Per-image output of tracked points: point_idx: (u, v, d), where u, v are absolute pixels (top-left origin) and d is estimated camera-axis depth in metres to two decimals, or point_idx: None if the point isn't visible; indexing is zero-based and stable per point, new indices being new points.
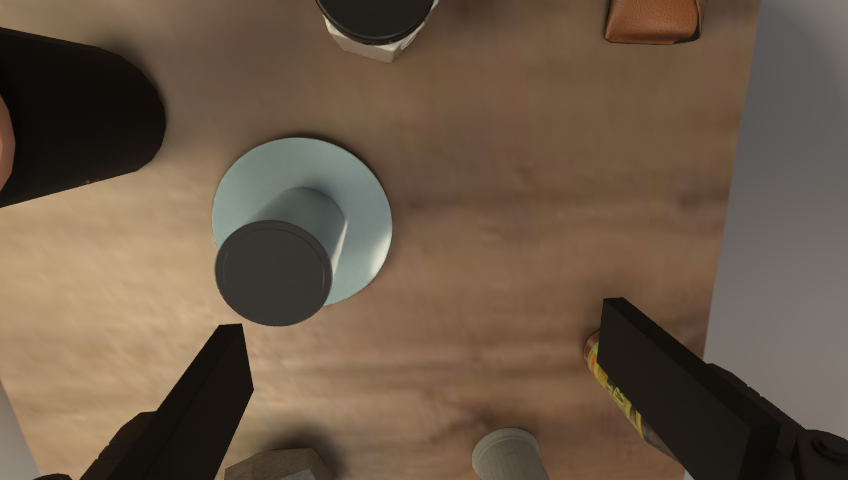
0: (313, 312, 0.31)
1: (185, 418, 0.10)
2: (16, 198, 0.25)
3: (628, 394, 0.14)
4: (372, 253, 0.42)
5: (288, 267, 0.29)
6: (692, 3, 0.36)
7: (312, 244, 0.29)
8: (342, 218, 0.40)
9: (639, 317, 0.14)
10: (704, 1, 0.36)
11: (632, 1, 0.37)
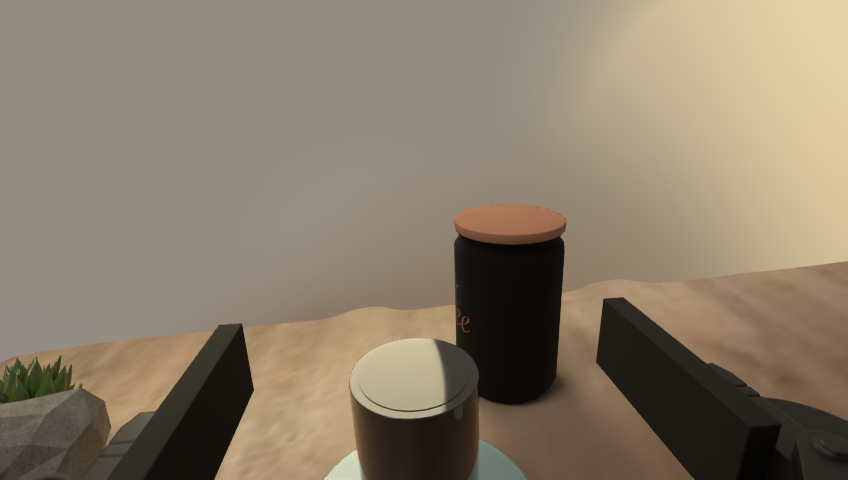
0: (364, 404, 0.24)
1: (185, 418, 0.10)
2: (469, 259, 0.39)
3: (628, 394, 0.14)
4: None
5: (423, 382, 0.25)
6: None
7: (456, 399, 0.24)
8: None
9: (638, 317, 0.14)
10: None
11: None
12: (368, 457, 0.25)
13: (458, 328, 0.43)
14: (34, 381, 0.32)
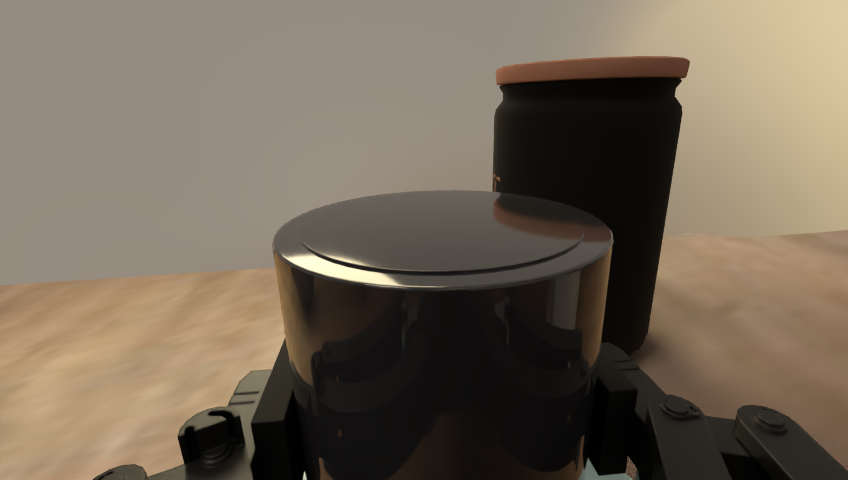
0: (299, 261, 0.08)
1: None
2: (524, 119, 0.23)
3: None
4: None
5: (467, 233, 0.10)
6: None
7: (570, 255, 0.08)
8: None
9: None
10: None
11: None
12: (313, 424, 0.09)
13: None
14: None
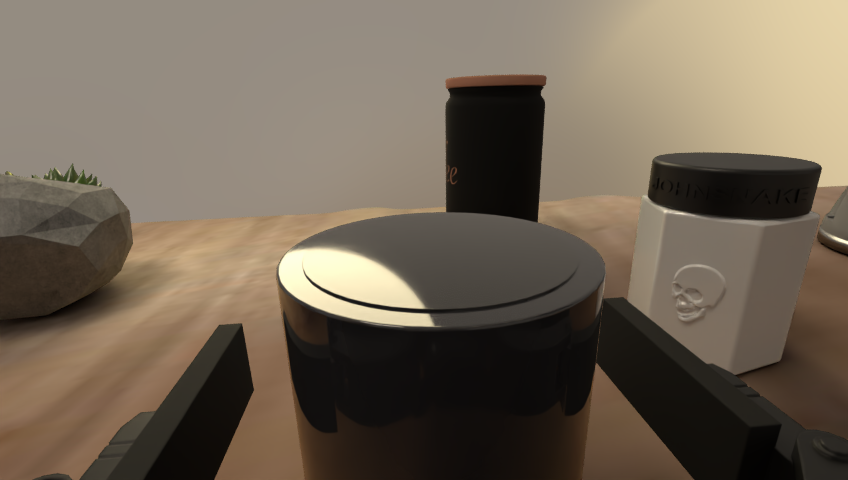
0: (303, 296, 0.08)
1: (185, 418, 0.10)
2: (457, 107, 0.43)
3: (628, 394, 0.14)
4: None
5: (465, 264, 0.10)
6: None
7: (563, 290, 0.08)
8: None
9: (638, 317, 0.14)
10: None
11: None
12: (315, 450, 0.09)
13: (447, 185, 0.48)
14: (70, 178, 0.37)
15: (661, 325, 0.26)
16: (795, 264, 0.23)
